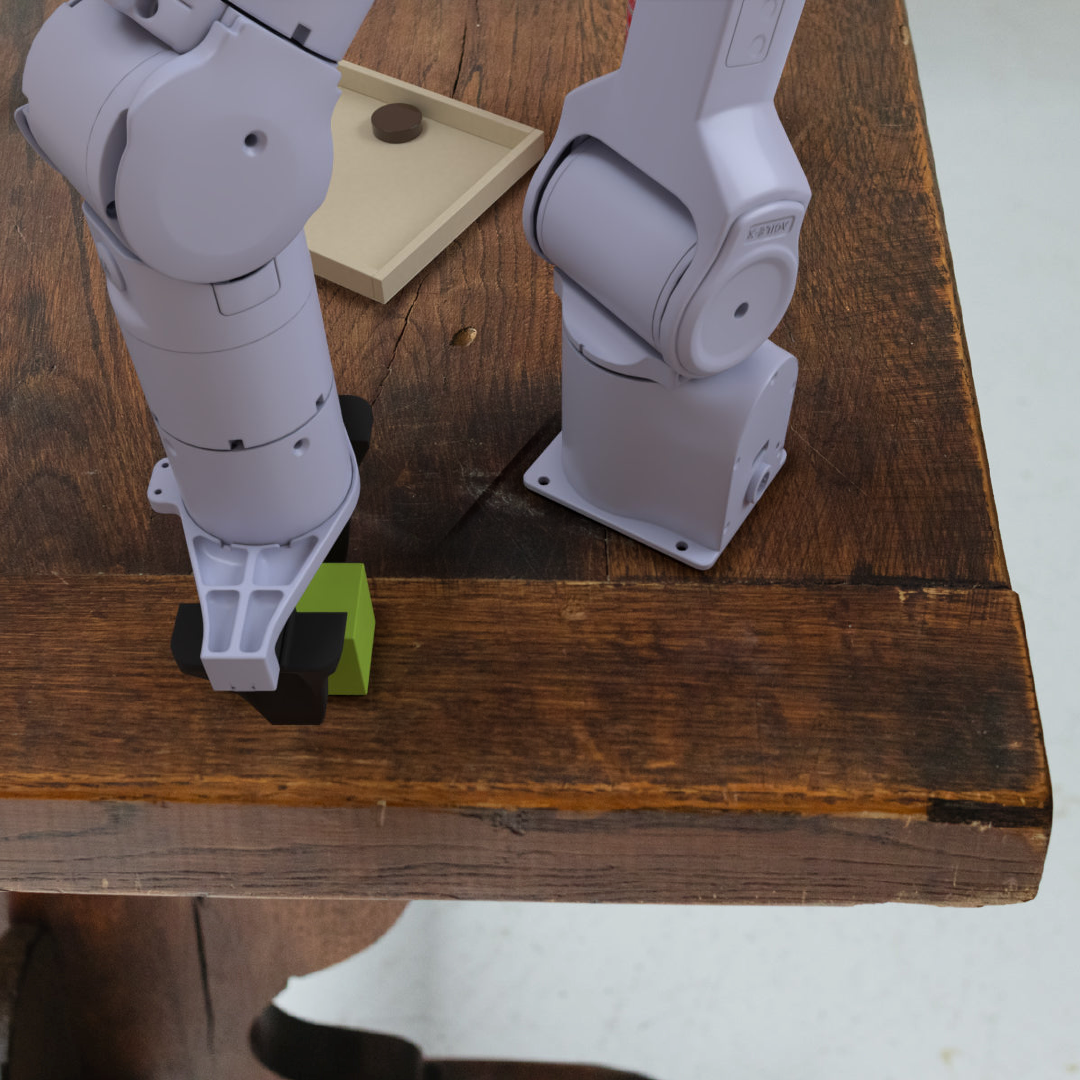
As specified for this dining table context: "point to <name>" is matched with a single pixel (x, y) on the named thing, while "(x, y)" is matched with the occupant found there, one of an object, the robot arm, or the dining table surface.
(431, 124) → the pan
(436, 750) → the dining table surface
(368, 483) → the dining table surface
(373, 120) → the dark brown disc
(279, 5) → the robot arm
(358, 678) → the sponge
